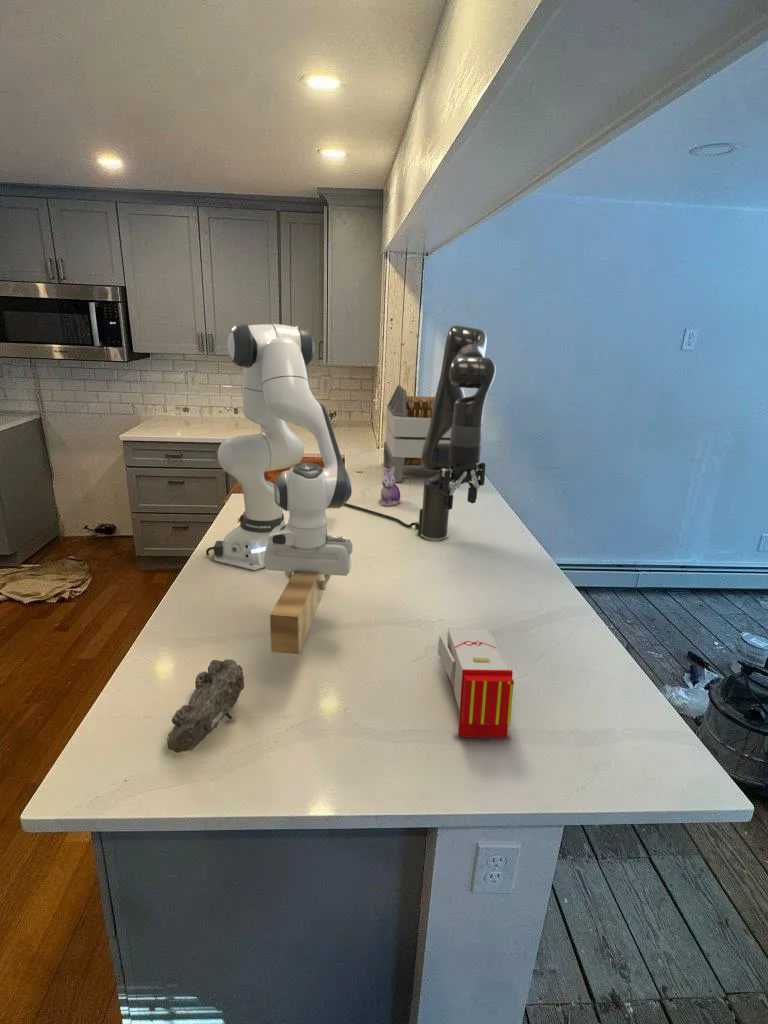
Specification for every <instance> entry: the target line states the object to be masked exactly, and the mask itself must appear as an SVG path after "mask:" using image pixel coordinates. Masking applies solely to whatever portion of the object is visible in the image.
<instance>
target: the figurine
mask: <svg viewBox="0 0 768 1024" xmlns="http://www.w3.org/2000/svg"><path fill="white" fill-rule="evenodd" d="M394 469H395V468H394V466H393V467H392V468H391V469H390V468H389V470H388V468H387V466H384V467H383V477H382V479H381V484H382V488H381V490H380V500H379V502H380V505H381V506H386V507H391V506H396V505H398V504H399V503H400V501H401V490H400V488H399V486H398V485H397V484H396V483H397V482H396V481H395V478H394V476H393V474H394Z"/></svg>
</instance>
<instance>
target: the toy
mask: <svg viewBox="0 0 768 1024" xmlns="http://www.w3.org/2000/svg"><path fill="white" fill-rule="evenodd" d="M446 640H447V643H446V641H445V639H444V636H443V635H442V634H439V637H438V646H437V656H438V657H439V659H440V661H441V663H442V666H443V668H444V670H445V672H446V674H447V677H448V679H449V681H450V684H451V687H452V690H453V693H454V697H455V701H456V705H457V708H458V711H459V714H458V715H459V716H458V730H457V731H458V732H457V737H458V738H508V731H509V726H510V725H511V717H512V707H513V697H514V696H513V695H514V684H515V680H514V679H513V673H514V671H513V670H512V669H508V667H507V665H506V662H505V661H504V659H503V658H502V655H501V653H500V651H499V649H498V647H497V643H496V639H495V637H494V635H493V634H491V632H490V631H489V629H467V628H466V629H465V628H463V629H461V628H460V629H459V628H448V630H447V639H446Z"/></svg>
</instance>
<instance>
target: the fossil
mask: <svg viewBox="0 0 768 1024" xmlns="http://www.w3.org/2000/svg"><path fill="white" fill-rule="evenodd" d="M243 670H244V669H243V667H242V665H240V664H237V662H236V661H235V660H234V659H232V658H231V659H227V658H226V659H224V660H223V661H222V660H217V659H212V660H211V661H210V663H209V665H208V666H207V671H201V672H199V673H198V674H197V675H196V676H195V680H194V684H195V685H194V687H195V689H194V690H193V693H192V694H191V697H190V698H189V700H188V704H184V705H182V706H181V707H180V709H177V710H176V711H175V713H174V715H173V716H172V718H171V723H172V724H173V727H172V730H171V731H170V732H168V734H167V738H166V741H167V742H166V745H167V749H168V750H169V751H173V752H174V753H176V754H178V753H182V752H188V751H189V752H192V751H193V750H195V748H196V747H197V746H199V744H200V743H201V742H203V741H204V740H205V739H206V738H207V737H208V736H209V735H210V734H211V733H212V732H214V730H215V729H217V727H218V726H219V724H220V722H221V721H222V720H223V719H224V718H225V716H226V717H227V719H229V720H233V717H232V715H230V714H229V710H230V709H231V708H234V706H235V704H236V703H237V702H238V699H239V697H240V695H241V693H242V691H243V690H245V689H244V688H245V675H244V671H243Z"/></svg>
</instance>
